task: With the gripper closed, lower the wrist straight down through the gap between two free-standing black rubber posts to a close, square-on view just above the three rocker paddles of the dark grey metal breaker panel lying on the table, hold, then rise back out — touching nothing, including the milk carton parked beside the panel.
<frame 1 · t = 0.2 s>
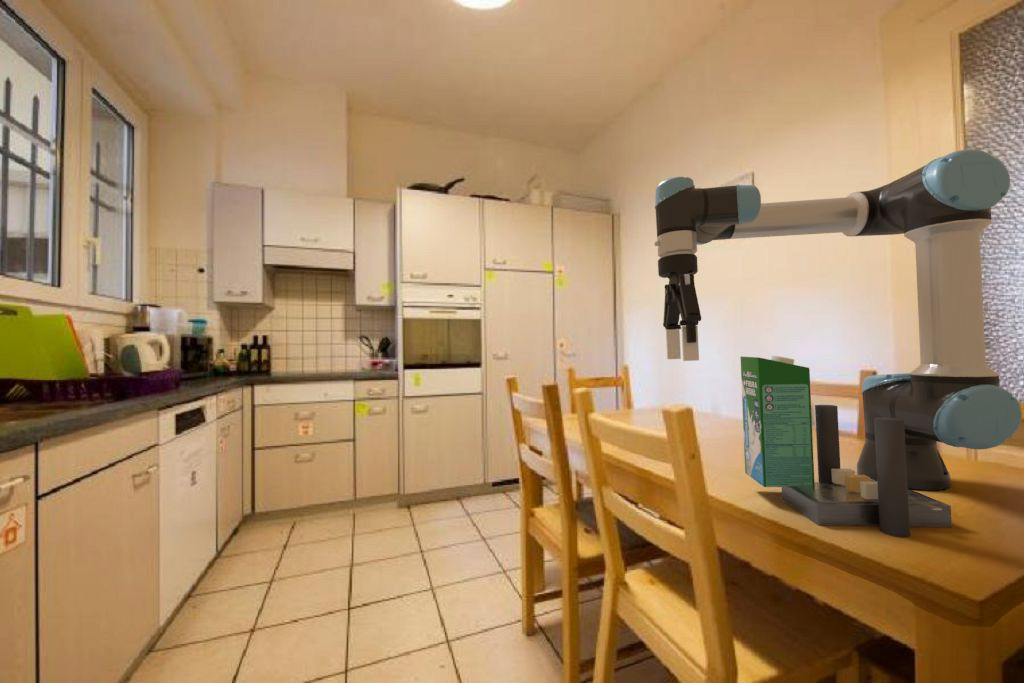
hand: (681, 360, 87), 28 cm above the table, fingers open, 13 cm apart
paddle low: (843, 476, 80), point 5 cm above the table, hinge at 0.0°
paddle mid: (857, 483, 76), point 5 cm above the table, hinge at 0.0°
post 2: (894, 532, 68), on the table
breaker panel: (859, 512, 76), on the table
post 1: (830, 496, 84), on the table
paddle high: (873, 490, 72), point 5 cm above the table, hinge at 0.0°
milk carton: (778, 481, 85), point 3 cm above the table, touching breaker panel
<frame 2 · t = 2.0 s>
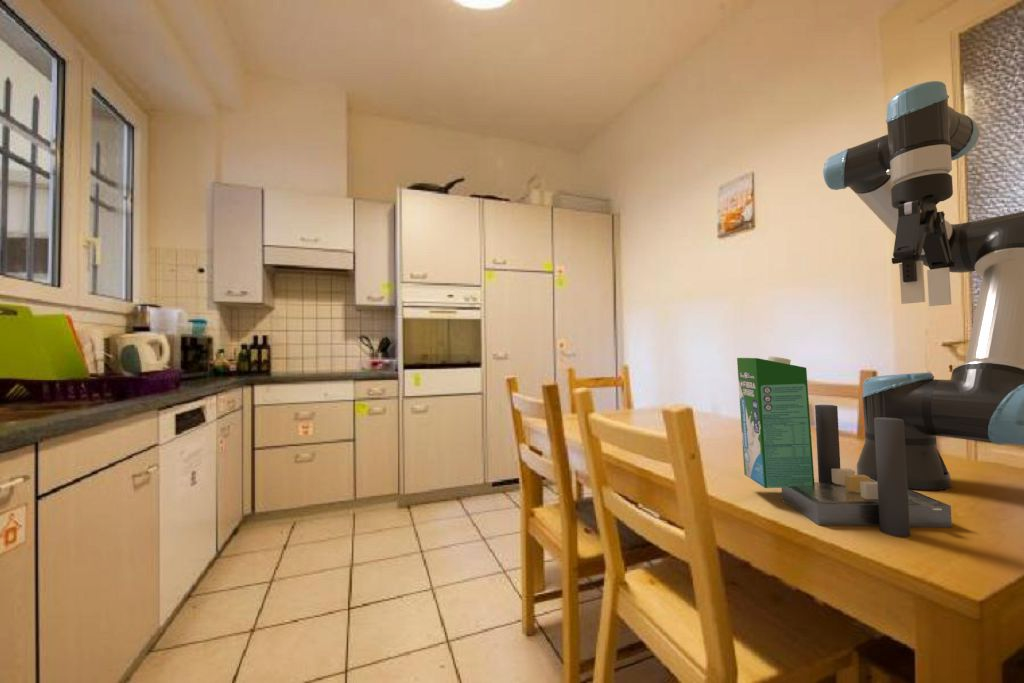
hand: (927, 304, 72), 37 cm above the table, fingers open, 13 cm apart
nothing on the table moved.
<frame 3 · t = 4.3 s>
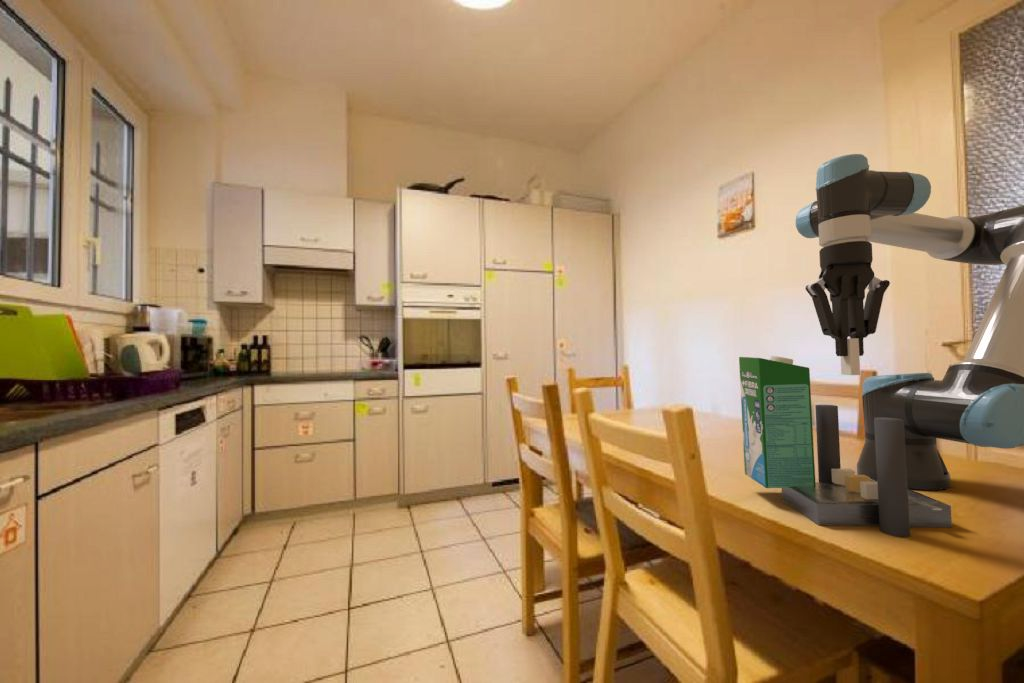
hand: (850, 374, 77), 25 cm above the table, fingers closed
nothing on the table moved.
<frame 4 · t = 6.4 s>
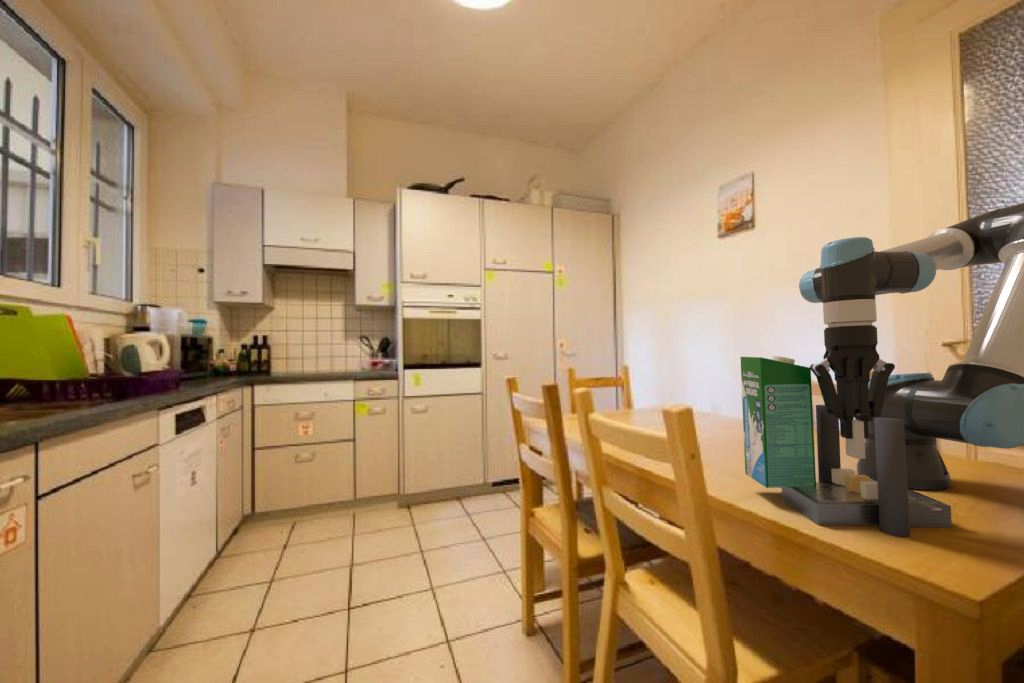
hand: (855, 456, 76), 10 cm above the table, fingers closed
nothing on the table moved.
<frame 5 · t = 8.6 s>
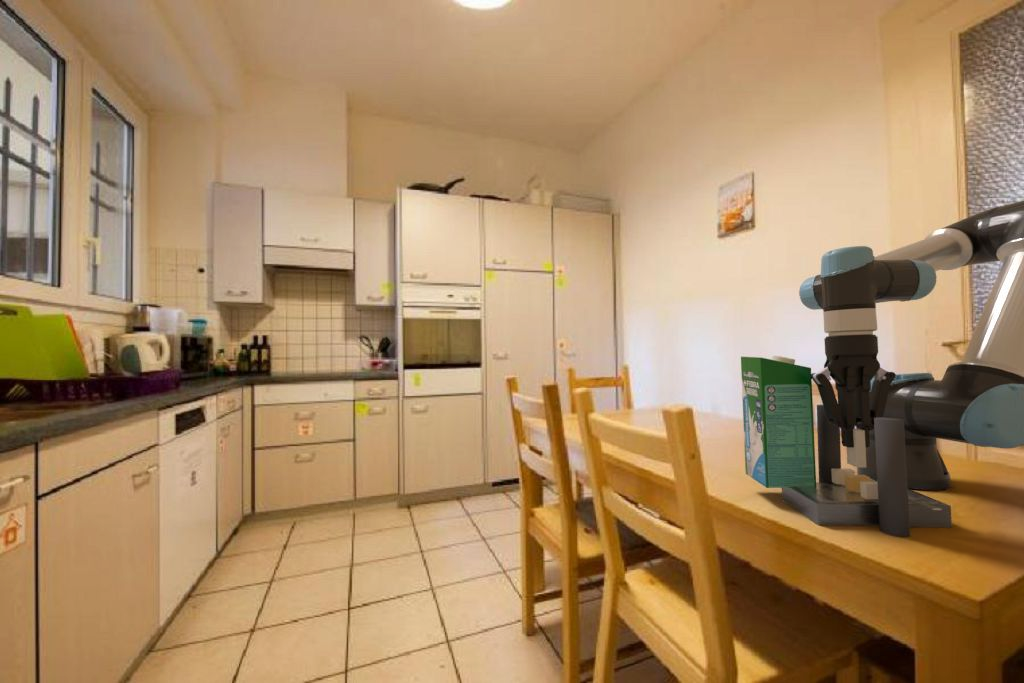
hand: (856, 465, 76), 8 cm above the table, fingers closed
nothing on the table moved.
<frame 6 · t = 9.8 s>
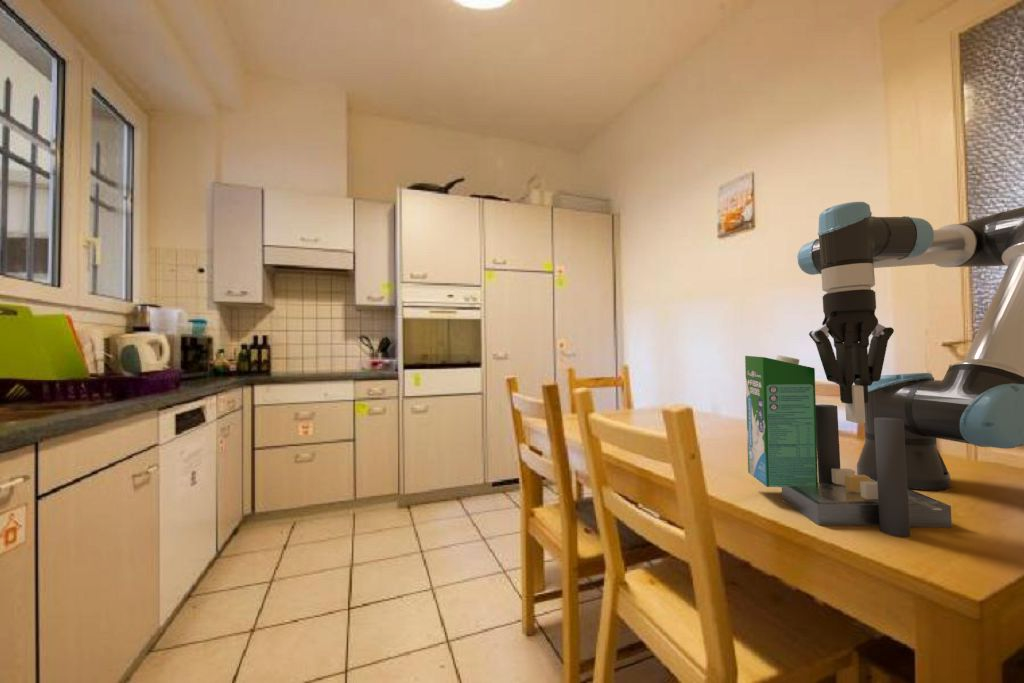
hand: (855, 421, 76), 16 cm above the table, fingers closed
nothing on the table moved.
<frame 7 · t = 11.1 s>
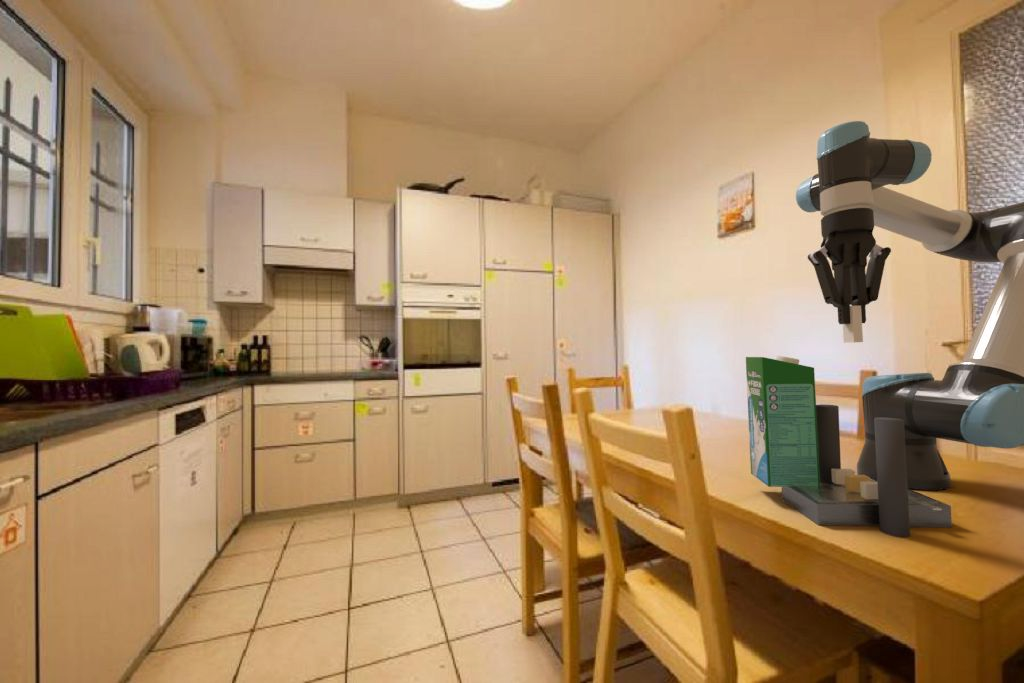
hand: (853, 342, 77), 30 cm above the table, fingers closed
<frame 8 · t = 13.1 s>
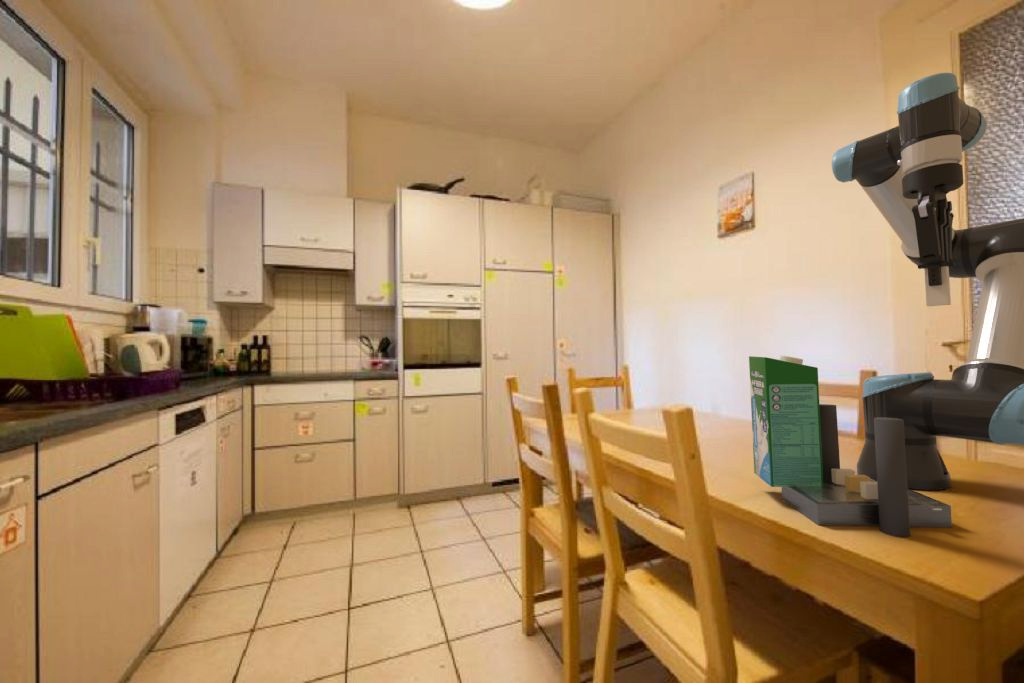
hand: (938, 305, 73), 36 cm above the table, fingers closed
at the end: paddle mid at +0° (first picture: +0°); post 2 moved 0.0 cm from its start; post 1 moved 0.1 cm from its start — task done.
